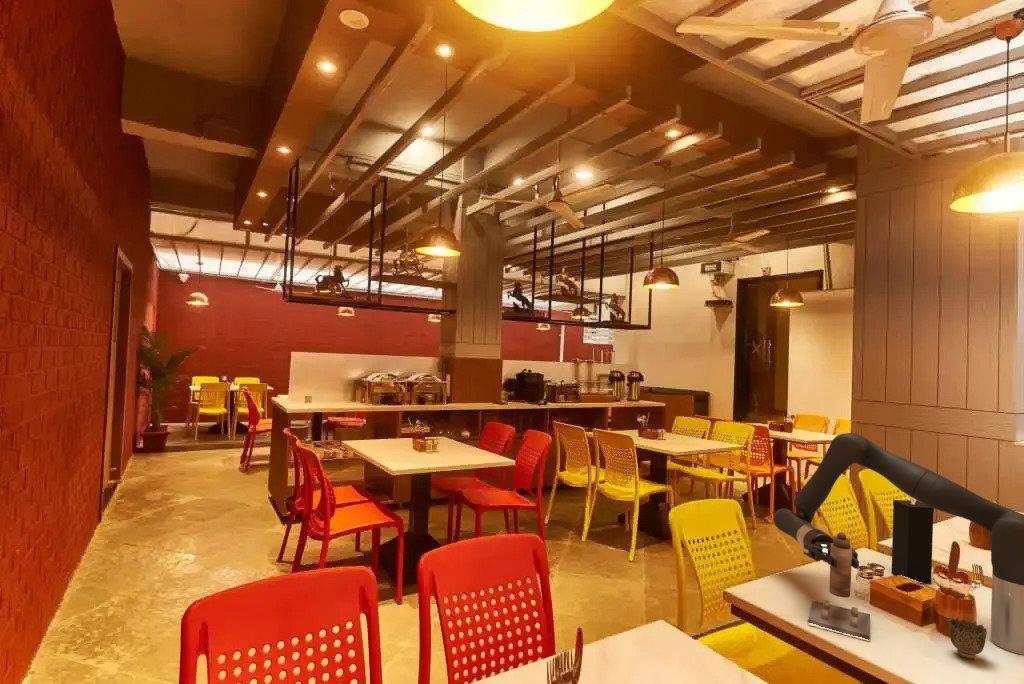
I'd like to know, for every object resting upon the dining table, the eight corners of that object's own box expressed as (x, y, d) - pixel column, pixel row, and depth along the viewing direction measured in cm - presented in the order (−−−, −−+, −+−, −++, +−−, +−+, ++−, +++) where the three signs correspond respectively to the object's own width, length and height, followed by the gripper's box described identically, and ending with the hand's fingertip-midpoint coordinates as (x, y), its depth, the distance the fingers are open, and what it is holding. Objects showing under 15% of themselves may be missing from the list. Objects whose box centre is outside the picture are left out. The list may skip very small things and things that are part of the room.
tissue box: (931, 584, 179) (934, 497, 179) (906, 583, 179) (909, 496, 179) (914, 574, 187) (917, 490, 187) (890, 573, 187) (893, 490, 187)
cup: (947, 645, 142) (948, 614, 142) (985, 656, 138) (986, 624, 138) (946, 657, 136) (947, 625, 136) (986, 669, 132) (987, 635, 132)
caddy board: (869, 619, 155) (870, 606, 155) (869, 641, 143) (869, 628, 143) (812, 605, 162) (813, 593, 162) (807, 625, 151) (808, 612, 151)
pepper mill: (850, 592, 153) (852, 532, 153) (849, 599, 149) (852, 537, 149) (829, 587, 156) (831, 528, 156) (828, 594, 152) (830, 533, 152)
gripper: (791, 527, 167) (819, 549, 150) (840, 529, 166) (874, 551, 149) (790, 552, 167) (818, 577, 150) (839, 554, 167) (873, 579, 150)
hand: (846, 564), depth 150 cm, fingers closed on pepper mill, 5 cm apart
